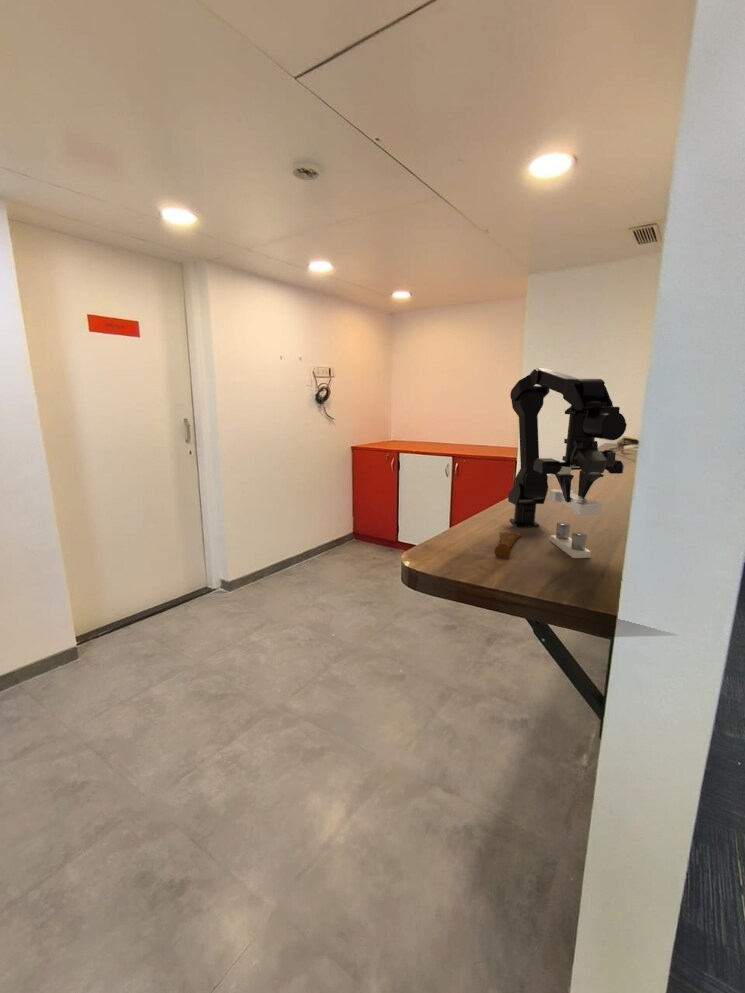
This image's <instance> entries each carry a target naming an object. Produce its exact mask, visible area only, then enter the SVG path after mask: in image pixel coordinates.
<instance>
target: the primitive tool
mask: <svg viewBox="0 0 745 993" xmlns="http://www.w3.org/2000/svg"><path fill="white" fill-rule="evenodd" d="M499 534H500V536H499V540H498V541H499V542H498V543H499V544H497V546H496V547H495V548H494V554H495V556H496V557H497V556H498V557H497V558H502V557H504V559H506V558H505V557H507V558H509V557H510V555H511V553H512V551H511V548H512V546H513V545H514V544H515V543H516V542H517V540H518V539H520V538H521V534H520V533H518V532H502V531H501V532H499Z"/></svg>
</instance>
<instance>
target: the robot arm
mask: <svg viewBox="0 0 745 993" xmlns="http://www.w3.org/2000/svg"><path fill="white" fill-rule="evenodd" d="M605 384H606V383H605V381H604V380H603V379H602V378H578V377H575V376H572V375H568V374H564V373H562V372H559V371H556V370H554V369H552V368H543V367H542V368H535V369H533V370H532V371H531V372H530V373H529V374H528V375H526V376H525V377H523V378H520V379H519V380H518V381H517V382H516V383H515V385H514V386H512V389H511V390H510V396H509V398H510V400H511V406H512V409H513V411H514V413H515V414H516V415H517V417H518V426H519V427H518V430H519V432H518V433H519V452H520V453H519V457H520V469H519V470H518V472H517V474H516V476H515V478H514V486H513V487H512V488H511V490H510V491H509V492H508V494H507V498H508V502H509V503H510V504H512V505H514V512H513V513H514V515H513V518H509V521H510V522H511V523H512V524H514V526H516V527H519V528H521V527H525V528H526V527H540V523H537V521H536V514H537V513H536V512H537V505H544V504H545V501H546V498H547V496H548V491H549V484H548V480H549V479H548V478H549V476H548V475H554V476H555V477H556V480H557V481H558V484H559V487H560V489H561V490H562V493H563V496H564V499H565V501H566V502H569V500H570V491H571V490H572V489H571V488H572V481H573V478H574V476H575V475H574V474H571V472H572V470H573V471H575V470H576V471H577V470H578V471H579V476H578V493H577V495H579V496H581V497H583V498H585V499H586V496H587V494H588V492H589V491H590V488H591V487H592V485H593V484H594V482H595V481H597V480H598V479H600V478H603V477H604V476H605V475H604V472H605V470H606V471H607V472H608V473H609V474H611V475H612V474H617V475H618V474H624V468H625V467H624V466H625V464H624V462H622V461H621V460H619V459H616V455H617V454H616V452H615V450H614V449H604V450H599V447H598V446H599V445H598V444H599V442H598V441H597V440H595V439H599V440H600V439H601V440H607V441H616V440H618V439H620V438H621V437H623V435H624V433H625V432H626V429H627V421H626V419H625V416H624V415H623V414H622V413H620V409H621V408H620V406H614V405H613V401H612V399H611V396H610V395H609V391H608V389H607V387H606V385H605ZM550 390H552V391H554V392H556V393H559V394H561V395H562V399H564V401H565V402H567V403H568V404H569V405H570V407H568V408H567V409H565V410H564V415H569V418H568V428H567V437H566V438H564V442H563V443H564V444H566V445H565V446H566V447H565V454H564V455H562V460H561V461H560V460H558V459H554V458H552V457H549V458H548V457H547V458H546V457H545V458H543V457H541V458H540V449H539V448H540V445H539V442H540V441H539V422H538V421H539V418H538V415H539V413H540V411H541V409H542V408H543V407H544V399H545V397H547V395H548V394H549V393H550Z"/></svg>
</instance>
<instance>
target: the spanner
mask: <svg viewBox="0 0 745 993" xmlns="http://www.w3.org/2000/svg"><path fill="white" fill-rule="evenodd" d="M549 500H551V501H553V502H556V503H557V502H558V503H561V504H563V505H564V506H566V507H568V508H570V509H572V512H573V513H575V514H576V515H579V516H598V515H599V516H600V515H601V514H602V508H603V504H602V503H601V502H598V501H596V500H589V499H587V498H586V497H585V498H583V497H581V496H579V495H578V494H577V493H576V491H574V490H572V489H571V491H570V500H569V502H566V501H565V499H564V496H563V493H562V490H561V488H559V489H558V488H557V489H554V488H553V489H550V490H549Z"/></svg>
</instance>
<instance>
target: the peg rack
mask: <svg viewBox="0 0 745 993" xmlns="http://www.w3.org/2000/svg"><path fill="white" fill-rule="evenodd" d="M570 528H571V524H570V523H567V522H561V521H560V522H557V523H556V530H555V531H556V532H555V534H553V535H550V538H549V540H550V542H551V543H552V544H554V545H555V546H557V548H559V549H560V550H562V551H563V552H564V553H565V554H566V555H569V556H570V557H571V558H573V559H586V558H587V559H590V558H591V553H592V551H591V550H589V549H588V548H586V545H587V536H588V535H587V534H586V533H584V532H578V531H577V532H576V531H575V532H572V537H570V531H571V530H570Z"/></svg>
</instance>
